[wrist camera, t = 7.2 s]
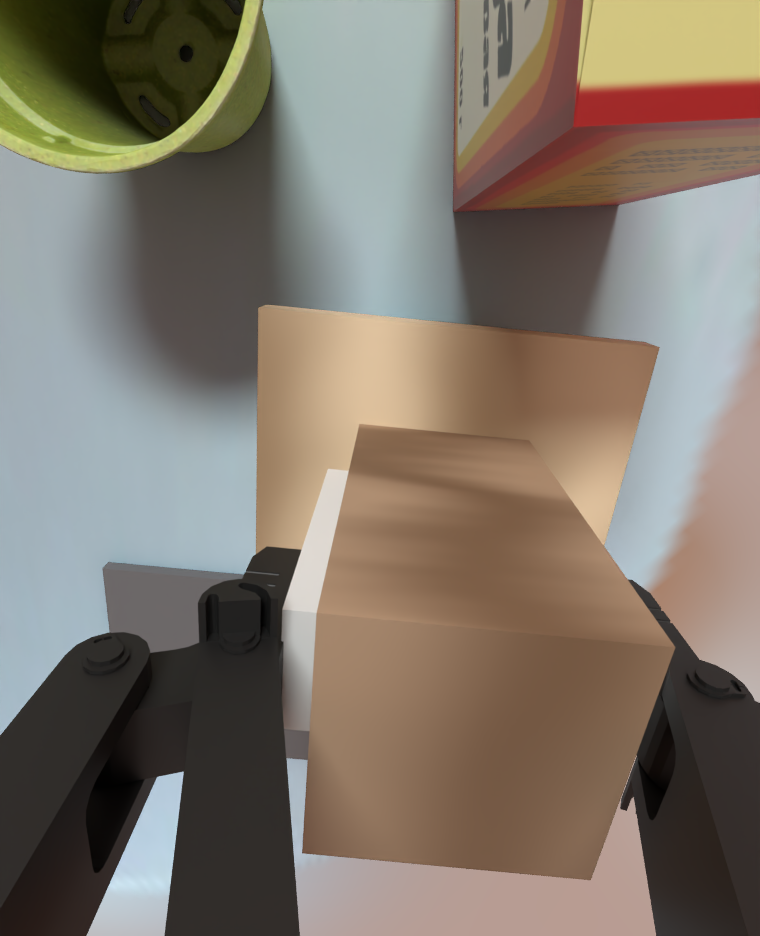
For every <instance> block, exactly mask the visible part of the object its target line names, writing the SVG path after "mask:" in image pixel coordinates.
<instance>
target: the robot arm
mask: <svg viewBox="0 0 760 936" xmlns="http://www.w3.org/2000/svg"><path fill="white" fill-rule="evenodd" d="M348 472H349V471H346V470H336V469H328V470H327V473H326V476H325V479H324V482H323V486H322V489H321V492H320V495H319V498H318V501H317V504H316V507H315V510H314V513H313V516H312V519H311V523H310V526H309V529H308V532H307V535H306V538H305V541H304V544H303V547H302V550H300V549H290V548H279V547H269V546H267V547H265V548H264V549H262V550H261V551H260V552H258V553H257V554H256V555H254V556H253V557H252V559H251V561H250V563H249V565H248V567H247V570H246V573H245V574H244V576H243V578H242V579H234V580H228V581H223V582H221V583H218V584H216V585H213V586H211V587H210V588H209V589H207V590H206V591H205V592H204V593H202V595H201V597H200V599H199V601H198V624H199V643H197V644H194V645H191V646H189V647H185V648H180V649H175V650H168V651H160V652H153V653H150V649H149V646H148V643H147V642H146V641H145V640H144V639H142V638H141V637H140V636H138V635H135V634H130V633H126V632H115V633H106V634H102V635H98V636H94V637H91V638H89V639H87V640H85V641H83V642H81V643H80V644H78V645H76V646H75V647H74V648H73V649H72V650H71V651H69V652H68V653H67V654H66V655H65V656H64V657H63V659H62V660H61V661H60V662H59V664H58V665H57V666H56V667H55V669H54V670H53V671H52V672H51V673H50V675H49V676H48V677H47V678H46V680H45V681H44V682H43V683H42V685H41V686H40V687H39V688H38V690H37V691H36V692H35V693H34V695H33V696H32V697H31V698H30V699H29V701H28V702H27V703H26V704H25V706H24V707H23V708H22V709H21V711H20V712H19V713H18V714H17V716H16V717H15V718H14V719H13V721H12V722H11V723H10V724H9V726H8V727H7V728H6V729H5V730H4V732H3V733H2V734H1V735H0V936H86V935H87V933H88V931H89V928H90V926H91V924H92V922H93V920H94V917H95V915H96V913H97V910H98V908H99V906H100V904H101V902H102V899H103V897H104V895H105V893H106V890H107V888H108V886H109V884H110V881H111V879H112V877H113V875H114V872H115V870H116V868H117V866H118V863H119V861H120V859H121V857H122V854H123V852H124V850H125V848H126V845H127V843H128V841H129V839H130V836H131V834H132V832H133V830H134V827H135V825H136V823H137V821H138V818H139V816H140V814H141V812H142V809H143V807H144V805H145V803H146V800H147V798H148V796H149V794H150V791H151V789H152V787H153V785H154V782H155V780H156V778H157V777H158V776H163V775H168V774H173V773H178V772H183V771H184V776H183V784H182V793H181V801H180V810H179V818H178V827H177V835H176V843H175V852H174V860H173V869H172V877H171V886H170V894H169V903H168V912H167V920H166V929H165V936H300V932H299V920H298V906H297V895H296V894H297V893H296V880H295V867H294V853H293V840H292V827H291V814H290V801H289V787H288V774H287V761H286V748H285V735H284V729H289V730H300V731H310V715H311V698H312V681H313V664H314V648H315V631H316V614H317V609H318V604H319V600H320V596H321V591H322V587H323V582H324V578H325V574H326V569H327V565H328V560H329V556H330V551H331V547H332V543H333V538H334V534H335V529H336V525H337V521H338V516H339V512H340V507H341V503H342V499H343V494H344V490H345V485H346V481H347V476H348ZM628 581H629V582H630V584H631V585H632V587H633V588H634V589H635V591H636V592H637V594H638V595H639V597H640V598H641V599H642V601H643V602H644V604H645V605H646V606H647V608H648V609H649V611H650V612H651V613H652V615H653V616H654V618H655V619H656V621H657V622H658V623H659V625H660V626H661V628H662V629H663V630H664V632H665V633H666V635H667V636H668V638H669V639H670V640H671V642H672V643H673V645H674V646H675V650H674V653H673V656H672V658H671V661H670V664H669V666H668V669H667V672H666V675H665V677H664V680H663V683H662V686H661V688H660V691H659V694H658V697H657V699H656V702H655V705H654V708H653V710H652V713H651V716H650V719H649V721H648V724H647V727H646V730H645V732H644V735H643V738H642V741H641V743H640V746H639V749H638V752H637V754H636V755H637V757H636V760H635V763H634V766H633V768H632V771H631V774H630V777H629V779H628V782H627V785H626V788H625V790H624V793H623V796H622V799H621V807H620V808H621V809H623V810H626V811H627V808H628V806H629V803H630V800H631V798H633V797H634V801H635V807H636V814H637V818H638V825H639V831H640V838H641V844H642V850H643V856H644V862H645V868H646V874H647V880H648V887H649V893H650V899H651V905H652V911H653V918H654V924H655V930H656V936H760V703H758V702H756V701H754V698H753V696H752V694H751V693H750V692H749V691H748V689H747V688H746V686H745V685H744V684H743V683H742V682H741V681H740V680H738V679H737V678H736V677H735V676H733V675H732V674H731V673H729V672H727V671H725V670H724V669H722V668H720V667H718V666H716V665H713V664H710V663H708V662H705V661H702V660H699V658H698V657H697V656H696V654H695V653H694V652H693V650H692V649H691V648H690V646H689V645H688V644H687V642H686V641H685V640H684V638H683V637H682V636H681V634H680V633H679V632H678V630H677V629H676V628H675V626H674V625H673V624H672V623H670V619H669V618H668V617H667V616H666V614H665V613H664V612H663V611H661V608H660V606H659V605H658V603H657V602H656V601H655V599H654V598H653V597H652V595H651V594H650V593H649V592H647V591H646V590H645V589H643V588H642V587H641V586H639V585H638V584H637V583H635V582H634V581H633V580H628Z"/></svg>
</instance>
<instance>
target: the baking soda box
mask: <svg viewBox="0 0 760 936" xmlns="http://www.w3.org/2000/svg"><path fill="white" fill-rule="evenodd" d="M758 174H760V0H455V78H454V173H453V212H464V211H488V210H511V209H534V208H557V207H580V206H603V205H620V204H625V203H629V202H634V201H639V200H643V199H648V198H652V197H657V196H662V195H666V194H671V193H675V192H680V191H685V190H689V189H694V188H698V187H703V186H708V185H712V184H717V183H721V182H726V181H730V180H735V179H740V178H744V177H749V176H753V175H758Z"/></svg>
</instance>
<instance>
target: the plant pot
mask: <svg viewBox="0 0 760 936" xmlns="http://www.w3.org/2000/svg"><path fill="white" fill-rule="evenodd" d="M238 1H239V2H240V6H241V8H242V11H241V13H240V15H235V14H234V13H233V11H232V9H231V8H230V7H229V6H228V4H227V3H226V2H225V1H224V0H143V1H142V3H141V4H140V5H139V7H138V9H137V11H136V12H135V14H134V16H133V17H132V21H131V23H130V24H126V23H125V22H126V21H125V19H124V12H125V10H126V8H127V6H128V4H129V2H130V0H0V145H2V146H3V147H5V148H7V149H9V150H11V151H13V152H15V153H17V154H19V155H22V156H24V157H26V158H29V159H31V160H34V161H37V162H39V163H42V164H45V165H49V166H52V167H56V168H60V169H64V170H70V171H75V172H83V173H95V174H98V173H119V172H126V171H132V170H136V169H140V168H144V167H147V166H149V165H152V164H155V163H158V162H160V161H162V160H164V159H167V158H169V157H171V156H172V155H174V154H176V153H177V152H194V153H197V152H208V151H212V150H217V149H220V148H223V147H225V146H227V145H230V144H231V143H233V142H235V141H236V140H237V139H239V138H240V137H241V136H242V135H243V134H244V133H246V132H247V131H248V130H249V128H250V127H251V126H252V125H253V123H254V122H255V120H256V119H257V117H258V115H259V113H260V111H261V109H262V107H263V105H264V102H265V100H266V97H267V94H268V90H269V86H270V80H271V48H270V41H269V35H268V31H267V26H266V22H265V18H264V14H263V11H262V7H263V1H264V0H238ZM184 45H187V46H189V47H191V48H192V51H193V57H192V59H191V60H190V61H188V62H184V61H182V60H181V58H180V55H179V51H180V49H181V48H182V46H184ZM140 95H143V96H145V97H146V98H147V100H148V101H149V102H150V103H151V104H152V105H153V107H155V109H156V110H157V111H158V112H160V113H161V114H162V115H163V116H165V117H167V118H168V119H169V121H170V126H168V127H164V126H160V125H159V124H157V123H156V122H155V121H154V120H153V119H152V118H151V117H150V116H149V115H148V114H147V113H146V112H145V111H144V109H143V108H142V106H141V104H140V102H139V96H140Z"/></svg>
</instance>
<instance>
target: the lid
mask: <svg viewBox="0 0 760 936" xmlns="http://www.w3.org/2000/svg"><path fill="white" fill-rule="evenodd" d="M659 348H660V347H657V346H654V345H651V344H648V343H646V342H639V341H629V340H619V339H609V338H599V337H589V336H579V335H569V334H559V333H548V332H538V331H528V330H518V329H508V328H498V327H488V326H478V325H468V324H458V323H447V322H437V321H427V320H417V319H407V318H397V317H387V316H377V315H367V314H357V313H346V312H336V311H326V310H316V309H306V308H296V307H286V306H276V305H264V306H262V307H259V308H258V392H257V499H256V554H257V553H258V552H260V551H261V550H262V549H264V548H265V547H267V546H269V547H279V548H290V549H300V550H302V547H303V544H304V541H305V538H306V535H307V532H308V529H309V526H310V523H311V519H312V516H313V513H314V510H315V507H316V504H317V501H318V498H319V495H320V492H321V489H322V486H323V482H324V479H325V476H326V473H327V470H328V469H336V470H346V471H349V472H348V476H347V481H346V485H345V490H344V494H343V499H342V503H341V507H340V512H339V516H338V521H337V525H336V529H335V534H334V538H333V543H332V547H331V551H330V556H329V560H328V565H327V569H326V574H325V578H324V582H323V587H322V591H321V596H320V600H319V604H318V609H317V614H316V631H315V648H314V664H313V681H312V698H311V715H310V732H309V748H308V765H307V782H306V799H305V816H304V833H303V849H302V853H306V854H316V855H327V856H338V857H348V858H359V859H370V860H382V861H392V862H402V863H413V864H423V865H434V866H446V867H456V868H466V869H477V870H488V871H498V872H509V873H520V874H530V875H531V874H532V875H541V876H552V877H563V878H573V879H574V878H575V879H584V880H591V878H592V875H593V872H594V870H595V867H596V864H597V861H598V858H599V856H600V853H601V851H602V848H603V845H604V842H605V840H606V837H607V834H608V831H609V828H610V826H611V823H612V820H613V818H614V815H615V812H616V809H617V806H618V804H619V801H620V798H621V795H622V793H623V790H624V787H625V785H626V782H627V779H628V776H629V773H630V771H631V768H632V765H633V763H634V760H635V757H636V754H637V752H638V749H639V746H640V743H641V741H642V738H643V735H644V732H645V730H646V727H647V724H648V721H649V719H650V716H651V713H652V710H653V708H654V705H655V702H656V699H657V697H658V694H659V691H660V688H661V686H662V683H663V680H664V677H665V675H666V672H667V669H668V666H669V664H670V661H671V658H672V656H673V653H674V650H675V646H674V645H673V643H672V642H671V640H670V639H669V638H668V636H667V635H666V633H665V632H664V630H663V629H662V628H661V626H660V625H659V623H658V622H657V621H656V619H655V618H654V616H653V615H652V613H651V612H650V611H649V609H648V608H647V606H646V605H645V604H644V602H643V601H642V599H641V598H640V597H639V595H638V594H637V592H636V591H635V589H634V588H633V587H632V585H631V584H630V582H629V581H628V580H627V578H626V577H625V575H624V574H623V572H622V571H621V570H620V568H619V567H618V565H617V564H616V563H615V561H614V560H613V558H612V557H611V555H610V554H609V553H608V551H607V550H606V548H605V547H604V544H605V541H606V537H607V533H608V530H609V526H610V523H611V519H612V516H613V512H614V508H615V505H616V501H617V498H618V494H619V491H620V487H621V483H622V480H623V476H624V473H625V469H626V466H627V462H628V458H629V455H630V451H631V448H632V444H633V440H634V437H635V433H636V430H637V426H638V423H639V419H640V415H641V412H642V408H643V405H644V401H645V398H646V394H647V390H648V387H649V383H650V380H651V376H652V373H653V369H654V365H655V362H656V358H657V355H658V351H659Z"/></svg>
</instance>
